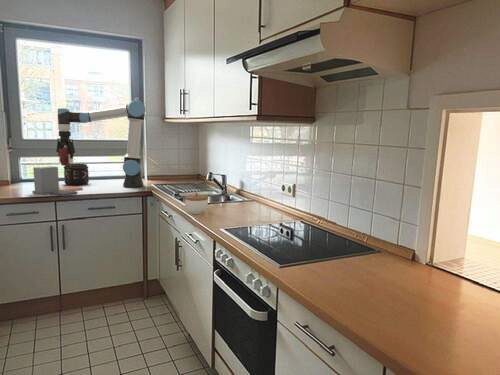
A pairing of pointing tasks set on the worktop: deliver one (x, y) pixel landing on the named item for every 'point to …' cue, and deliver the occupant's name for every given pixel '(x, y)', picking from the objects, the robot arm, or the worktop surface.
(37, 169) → the grey unit
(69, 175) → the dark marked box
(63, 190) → the terracotta pad
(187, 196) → the lidded bowl
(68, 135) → the robot arm
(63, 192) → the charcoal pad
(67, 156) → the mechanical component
